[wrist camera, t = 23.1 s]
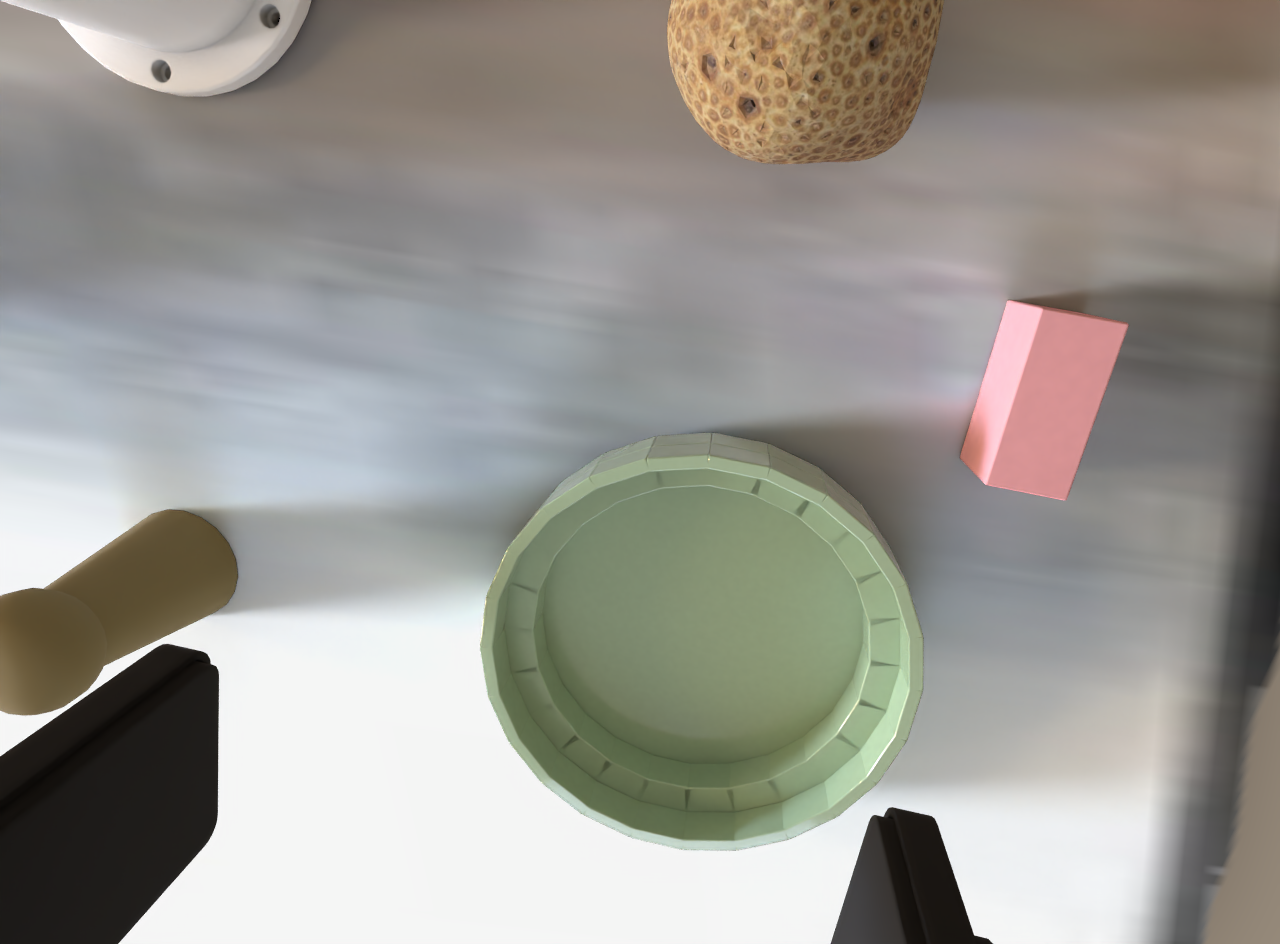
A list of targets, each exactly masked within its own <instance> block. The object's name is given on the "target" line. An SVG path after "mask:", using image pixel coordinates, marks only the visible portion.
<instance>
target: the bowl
mask: <svg viewBox="0 0 1280 944" xmlns="http://www.w3.org/2000/svg"><path fill="white" fill-rule="evenodd" d="M923 646H924V638H923V633H922V630H921V627H920V623H919V620H918V617H917V614H916V610H915V607H914V604H913V601H912V597H911V594H910V591H909V587H908V584H907V582H906V580H905V578H904V576H903V574H902V572H901V569H900V567H899V565H898V563H897V561H896V559H895V557H894V555H893V553H892V550H891V548H890V547H889V545H888V543H887V542H886V540H885V539H884V537H883V536H882V534H881V533H880V531H879V530H878V528H877V527H876V525H875V524H874V522H873V521H872V519H871V518H870V516H869V515H868V513H867V512H866V510H865V509H864V507H863V506H862V505H861V503H860V502H858V501H857V500H856V499H855V498H854V497H853V496H852V495H850V494H849V493H848V492H847V491H846V490H845V489H843V488H842V487H841V486H840V485H839V484H838V483H836V482H835V481H834V480H833V479H832V478H831V477H829V476H828V475H827V474H826V473H825V472H824V471H822V470H821V469H820V468H818V467H817V466H815V465H813V464H810V463H808V462H806V461H804V460H802V459H800V458H798V457H796V456H794V455H792V454H790V453H788V452H786V451H783V450H781V449H779V448H777V447H775V446H773V445H771V444H767V443H763V442H758V441H753V440H748V439H743V438H738V437H733V436H728V435H723V434H717V433H713V434H712V433H695V434H678V435H662V436H657V437H656V436H654V437H651V438H648V439H645V440H642V441H639V442H636V443H633V444H630V445H627V446H624V447H621V448H618V449H615V450H612V451H609V452H606V453H605V454H602V455H601V456H599V457H598V458H596V459H595V460H593V461H592V462H590V463H589V464H587V465H586V466H584V467H583V468H581V469H580V470H578V471H577V472H575V473H574V474H572V475H571V476H569V477H568V478H566V479H565V480H563V481H562V482H561V483H560V484H559V485H558V486H557V487H556V489H555V490H554V491H553V492H552V493H551V494H550V496H549V497H548V498H547V499H546V500H545V501H544V503H543V504H542V505H541V506H540V507H539V509H538V510H537V511H536V512H535V513H534V514H533V516H532V517H531V518H530V519H529V521H528V522H527V523H526V525H525V526H524V527H523V528H522V530H521V531H520V532H519V534H518V535H517V536H516V538H515V539H514V540H513V542H512V543H511V544H510V546H509V547H508V548H507V550H506V552H505V554H504V556H503V559H502V561H501V563H500V566H499V568H498V570H497V572H496V575H495V577H494V579H493V582H492V584H491V586H490V588H489V591H488V593H487V597H486V601H485V609H484V617H483V625H482V633H481V642H480V651H481V657H482V663H483V669H484V675H485V681H486V688H487V694H488V698H489V700H490V702H491V704H492V707H493V709H494V711H495V713H496V715H497V717H498V720H499V722H500V724H501V726H502V728H503V731H504V733H505V735H506V737H507V739H508V742H510V744H511V746H512V747H513V748H514V749H515V751H516V752H517V753H518V754H519V756H520V757H521V758H522V759H523V760H524V762H525V763H526V764H527V765H528V767H529V768H530V769H531V770H532V772H533V773H534V774H535V775H536V777H537V778H538V779H539V780H540V782H542V784H544V785H545V786H546V787H547V788H549V789H550V790H551V791H553V792H554V793H555V794H556V795H558V796H559V797H560V798H562V799H563V800H564V801H565V802H567V803H568V804H569V805H570V806H572V807H573V808H574V809H576V810H577V811H578V812H579V813H581V814H583V815H584V816H586V817H588V818H591V819H593V820H595V821H597V822H599V823H601V824H603V825H605V826H607V827H610V828H612V829H614V830H616V831H618V832H620V833H622V834H624V835H626V836H628V837H631V838H634V839H638V840H643V841H647V842H651V843H655V844H660V845H664V846H668V847H672V848H677V849H681V850H722V851H736V850H742V849H747V848H752V847H757V846H761V845H766V844H771V843H776V842H781V841H785V840H789V839H792V838H794V837H796V836H798V835H800V834H802V833H804V832H806V831H809V830H811V829H813V828H815V827H817V826H819V825H821V824H823V823H826V822H828V821H830V820H832V819H834V818H836V817H838V816H839V815H840V814H842V813H843V812H844V811H845V810H846V809H848V808H849V807H850V806H851V805H852V804H854V803H855V802H856V801H857V800H858V799H860V798H861V797H862V796H863V795H864V794H866V793H867V792H868V791H869V790H870V789H872V788H873V787H874V786H875V785H876V784H877V783H878V782H879V781H880V779H881V778H882V776H883V775H884V773H885V772H886V771H887V769H888V768H889V766H890V765H891V763H892V762H893V760H894V759H895V757H896V756H897V755H898V753H899V752H900V750H901V749H902V747H903V746H904V744H905V743H906V741H907V739H908V736H909V733H910V730H911V727H912V724H913V720H914V717H915V714H916V711H917V708H918V705H919V702H920V699H921V695H922V692H923Z"/></svg>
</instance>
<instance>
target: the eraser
mask: <svg viewBox="0 0 1280 944" xmlns="http://www.w3.org/2000/svg"><path fill="white" fill-rule="evenodd" d="M1128 326H1129V324H1128V323H1125V322H1121V321H1116V320H1112V319H1107V318H1103V317H1098V316H1094V315H1089V314H1084V313H1079V312H1073V311H1068V310H1062V309H1057V308H1051V307H1046V306H1040V305H1035V304H1029V303H1024V302H1018V301H1013V300H1008V302H1007V305H1006V308H1005V311H1004V314H1003V318H1002V321H1001V324H1000V327H999V331H998V334H997V337H996V340H995V344H994V347H993V350H992V353H991V357H990V360H989V363H988V367H987V370H986V373H985V376H984V380H983V383H982V386H981V389H980V393H979V396H978V399H977V402H976V406H975V409H974V412H973V415H972V419H971V422H970V425H969V428H968V432H967V435H966V438H965V442H964V445H963V448H962V451H961V455H960V459H961V460H962V461H963V462H964V463H965V464H966V465H967V466H968V467H969V468H970V469H971V470H972V471H973V472H974V473H975V474H976V475H977V477H978V478H979V479H980V480H981V481H982V482H983V483H984V484H986V485H988V486H993V487H998V488H1004V489H1009V490H1014V491H1019V492H1024V493H1029V494H1034V495H1039V496H1044V497H1049V498H1054V499H1059V500H1067V498H1068V495H1069V492H1070V489H1071V486H1072V484H1073V481H1074V478H1075V475H1076V472H1077V470H1078V467H1079V464H1080V461H1081V458H1082V456H1083V453H1084V450H1085V447H1086V444H1087V441H1088V439H1089V436H1090V433H1091V430H1092V427H1093V425H1094V422H1095V419H1096V416H1097V413H1098V411H1099V408H1100V405H1101V402H1102V399H1103V396H1104V394H1105V391H1106V388H1107V385H1108V382H1109V380H1110V377H1111V374H1112V371H1113V368H1114V366H1115V363H1116V360H1117V357H1118V354H1119V351H1120V349H1121V346H1122V343H1123V340H1124V337H1125V335H1126V332H1127V329H1128Z"/></svg>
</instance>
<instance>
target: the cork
mask: <svg viewBox="0 0 1280 944" xmlns="http://www.w3.org/2000/svg"><path fill="white" fill-rule="evenodd" d="M237 578H238V574H237V566H236V559H235V557H234V555H233V553H232V550H231V548H230V546H229V544H228V542H227V541H226V540H225V539H224V537H223V536H222V535H221V534H220V532H219V531H218V530H217V529H216V528H215V527H214V526H212V525H211V524H209V523H208V522H207V521H205V520H204V519H203V518H201V517H199V516H196V515H194V514H191V513H188V512H186V511H179V510H164V511H160V512H157V513H153V514H151V515H150V516H148V517H147V518H145V519H144V520H142V521H141V522H139V523H138V524H136V525H135V526H134V527H132V528H131V529H129V530H128V531H126V532H125V533H123V534H122V535H121V536H119V537H118V538H116V539H115V540H113V541H112V542H110V543H109V544H108V545H106V546H105V547H103V548H102V549H100V550H99V551H97V552H96V553H95V554H93V555H92V556H90V557H89V558H87V559H86V560H84V561H83V562H82V563H80V564H79V565H77V566H76V567H74V568H73V569H71V570H70V571H69V572H67V573H66V574H64V575H63V576H61V577H60V578H58V579H57V580H55V581H54V582H53V583H51V584H50V585H48V586H47V587H45V588H44V589H39V588H30V589H25V590H20V591H16V592H12V593H8V594H4V595H2V596H0V711H3V712H5V713H8V714H15V715H37V714H42V713H46V712H51V711H54V710H56V709H59V708H62V707H64V706H66V705H67V704H68V703H70V702H71V701H73V700H74V699H76V698H77V697H78V696H80V695H81V694H83V693H84V692H85V691H87V690H88V689H89V688H90V686H91V685H92V684H93V683H94V682H95V680H96V679H97V677H98V676H99V674H100V672H101V671H102V669H103V666H105V665H107V664H109V663H111V662H113V661H115V660H117V659H119V658H121V657H123V656H126V655H128V654H130V653H132V652H134V651H136V650H138V649H140V648H142V647H144V646H146V645H148V644H150V643H152V642H155V641H157V640H159V639H161V638H163V637H165V636H167V635H169V634H171V633H173V632H175V631H177V630H179V629H181V628H184V627H186V626H188V625H190V624H192V623H194V622H196V621H198V620H200V619H202V618H204V617H206V616H208V615H210V614H213V613H215V612H216V611H218V610H219V609H220V608H222V607H223V606H225V605H226V604H227V603H228V601H229V600H230V598H231V597H232V595H233V594H234V592H235V588H236V583H237Z"/></svg>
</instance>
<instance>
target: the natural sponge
mask: <svg viewBox="0 0 1280 944" xmlns="http://www.w3.org/2000/svg"><path fill="white" fill-rule="evenodd" d="M943 4H944V0H671V5H670V10H669V17H668V26H667V38H668V49H669V59H670V64H671V69H672V72H673V75H674V77H675V80H676V83H677V86H678V88H679V90H680V92H681V95H682V97H683V99H684V101H685V103H686V105H687V106H688V108H689V110H690V111H691V113H692V115H693V116H694V118H695V119H696V121H697V123H698V124H699V125H700V126H701V127H702V128H703V129H704V130H705V131H706V132H707V133H708V135H709V136H710V137H711V138H712V139H713V140H714V141H715V142H716V143H717V144H719V145H720V146H722V147H723V148H725V149H726V150H728V151H730V152H732V153H733V154H735V155H737V156H739V157H742V158H745V159H747V160H751V161H756V162H761V163H768V164H805V163H820V162H851V161H860V160H865V159H869V158H872V157H875V156H877V155H879V154H881V153H883V152H885V151H887V150H888V149H890V148H891V147H892V146H894V145H895V144H896V143H897V142H898V141H899V140H900V139H901V138H902V137H903V136H904V134H905V133H906V131H907V130H908V128H909V126H910V124H911V122H912V120H913V118H914V116H915V114H916V111H917V109H918V106H919V104H920V101H921V98H922V94H923V90H924V87H925V83H926V80H927V76H928V72H929V68H930V64H931V60H932V57H933V53H934V49H935V45H936V42H937V36H938V31H939V26H940V21H941V14H942V9H943Z"/></svg>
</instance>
